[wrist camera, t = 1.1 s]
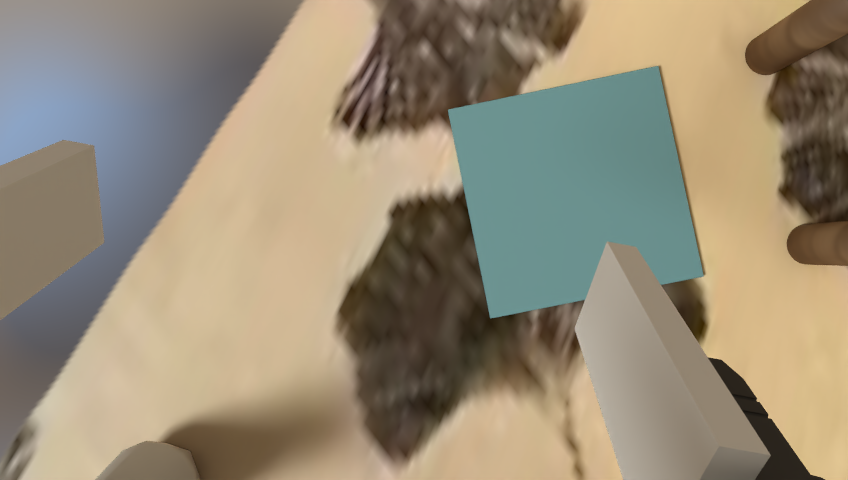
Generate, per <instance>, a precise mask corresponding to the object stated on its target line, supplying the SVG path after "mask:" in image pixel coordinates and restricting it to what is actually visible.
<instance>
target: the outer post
mask: <svg viewBox="0 0 848 480" xmlns="http://www.w3.org/2000/svg"><path fill="white" fill-rule="evenodd" d="M846 34H848V0H811V1H809V2H808V3H806V4H805V5H803V6H802V7H800V8H799V9H797V10H796V11H794V12H793V13H791V14H790V15H789V16H787V17H786V18H784V19H783V20H781V21H780V22H778V23H777V24H775V25H774V26H772V27H771V28H769V29H768V30H766V31H765V32H764V33H762V34H761V35H759V36H758V37H756V38H755V39H753V40H752V41H751V42H750V43H749V45H748V46H747V49H746V53H745V58H746V62H747V64H748V66H749V67H750V68H751V69H752V70H753V71H754V72H756V73H758V74H761V75H770V74H773V73H775V72H777V71H779V70H781V69H783V68H785V67H787V66H788V65H790V64H792V63H794V62H796V61H798V60H800V59H802V58H803V57H805V56H807V55H809V54H811V53H813V52H815V51H816V50H818V49H820V48H822V47H824V46H826V45H828V44H829V43H831V42H833V41H835V40H837V39H839V38H841V37H843V36H844V35H846Z"/></svg>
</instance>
